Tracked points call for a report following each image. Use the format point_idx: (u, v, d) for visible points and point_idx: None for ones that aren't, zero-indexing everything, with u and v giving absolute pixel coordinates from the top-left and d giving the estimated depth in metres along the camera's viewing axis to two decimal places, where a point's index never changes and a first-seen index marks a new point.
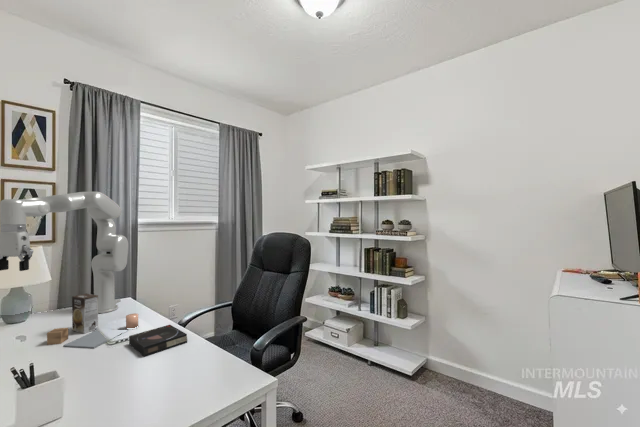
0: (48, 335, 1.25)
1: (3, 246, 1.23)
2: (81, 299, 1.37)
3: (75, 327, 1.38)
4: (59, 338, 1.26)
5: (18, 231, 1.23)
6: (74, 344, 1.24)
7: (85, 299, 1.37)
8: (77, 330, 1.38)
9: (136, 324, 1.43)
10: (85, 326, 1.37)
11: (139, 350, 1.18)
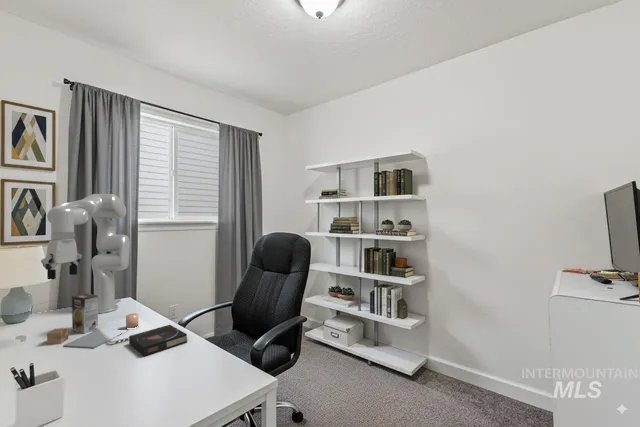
0: (48, 335, 1.25)
1: (64, 253, 1.27)
2: (81, 299, 1.37)
3: (75, 327, 1.38)
4: (59, 338, 1.26)
5: None
6: (74, 344, 1.24)
7: (85, 299, 1.37)
8: (77, 330, 1.38)
9: (136, 324, 1.43)
10: (85, 326, 1.37)
11: (139, 350, 1.17)
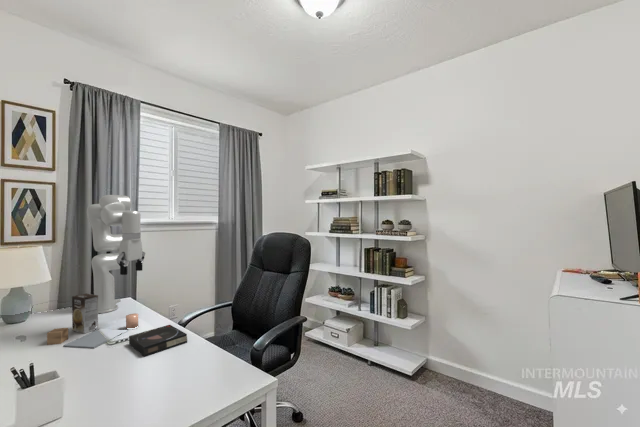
0: (48, 335, 1.25)
1: (133, 251, 1.41)
2: (81, 299, 1.37)
3: (75, 326, 1.38)
4: (59, 338, 1.26)
5: None
6: (74, 344, 1.24)
7: (85, 299, 1.37)
8: (77, 330, 1.38)
9: (136, 324, 1.43)
10: (85, 326, 1.37)
11: (139, 350, 1.17)
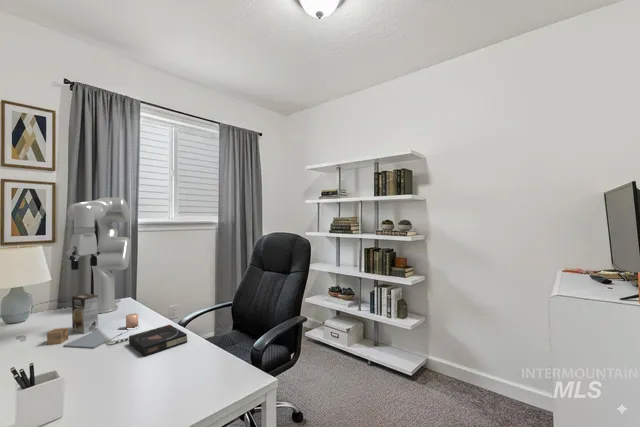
0: (48, 335, 1.25)
1: (85, 246, 1.39)
2: (81, 299, 1.37)
3: (75, 327, 1.38)
4: (59, 338, 1.26)
5: None
6: (74, 344, 1.24)
7: (85, 299, 1.37)
8: (77, 330, 1.38)
9: (136, 324, 1.43)
10: (85, 326, 1.37)
11: (139, 350, 1.17)
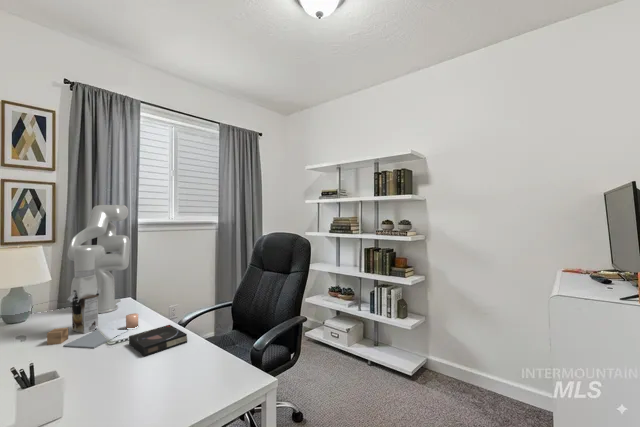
0: (48, 335, 1.25)
1: (86, 289, 1.39)
2: (81, 299, 1.37)
3: (75, 326, 1.38)
4: (59, 338, 1.26)
5: None
6: (74, 344, 1.24)
7: (85, 299, 1.37)
8: (77, 330, 1.38)
9: (136, 324, 1.43)
10: (85, 326, 1.37)
11: (139, 350, 1.17)
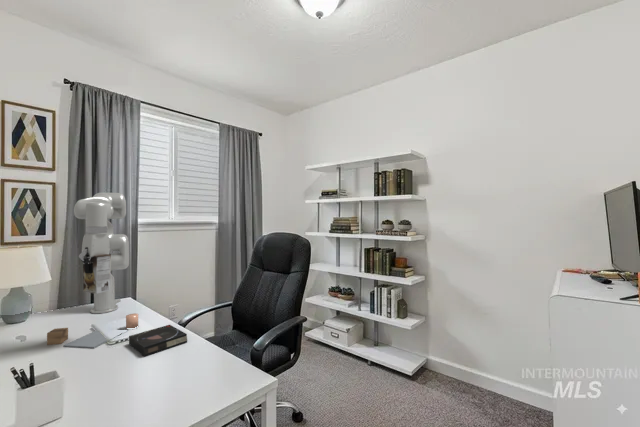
0: (48, 335, 1.25)
1: (98, 247, 1.29)
2: (93, 257, 1.27)
3: (87, 287, 1.29)
4: (59, 338, 1.26)
5: None
6: (74, 344, 1.24)
7: (97, 257, 1.27)
8: (89, 291, 1.28)
9: (136, 324, 1.43)
10: (97, 286, 1.27)
11: (139, 350, 1.17)
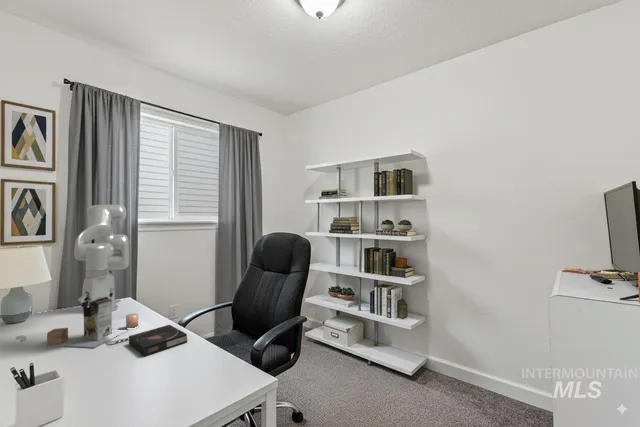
0: (48, 335, 1.25)
1: (98, 290, 1.29)
2: (94, 304, 1.28)
3: (88, 333, 1.29)
4: (59, 338, 1.26)
5: None
6: (74, 344, 1.24)
7: (99, 304, 1.28)
8: (90, 337, 1.29)
9: (136, 324, 1.43)
10: (99, 332, 1.28)
11: (139, 350, 1.17)
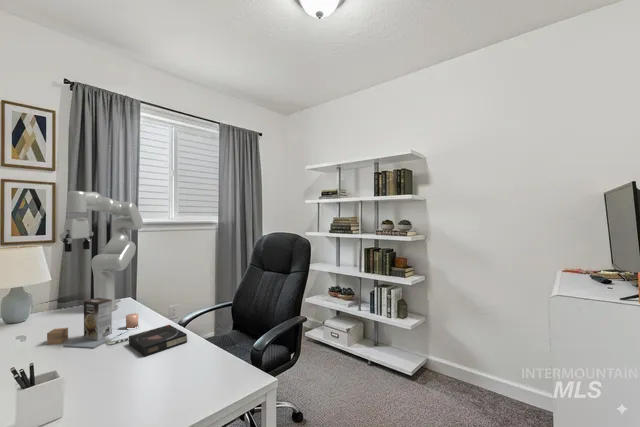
0: (48, 335, 1.25)
1: (78, 230, 1.47)
2: (94, 304, 1.28)
3: (88, 333, 1.29)
4: (59, 338, 1.26)
5: None
6: (74, 344, 1.24)
7: (99, 304, 1.28)
8: (90, 337, 1.29)
9: (136, 324, 1.43)
10: (99, 332, 1.28)
11: (139, 350, 1.17)
